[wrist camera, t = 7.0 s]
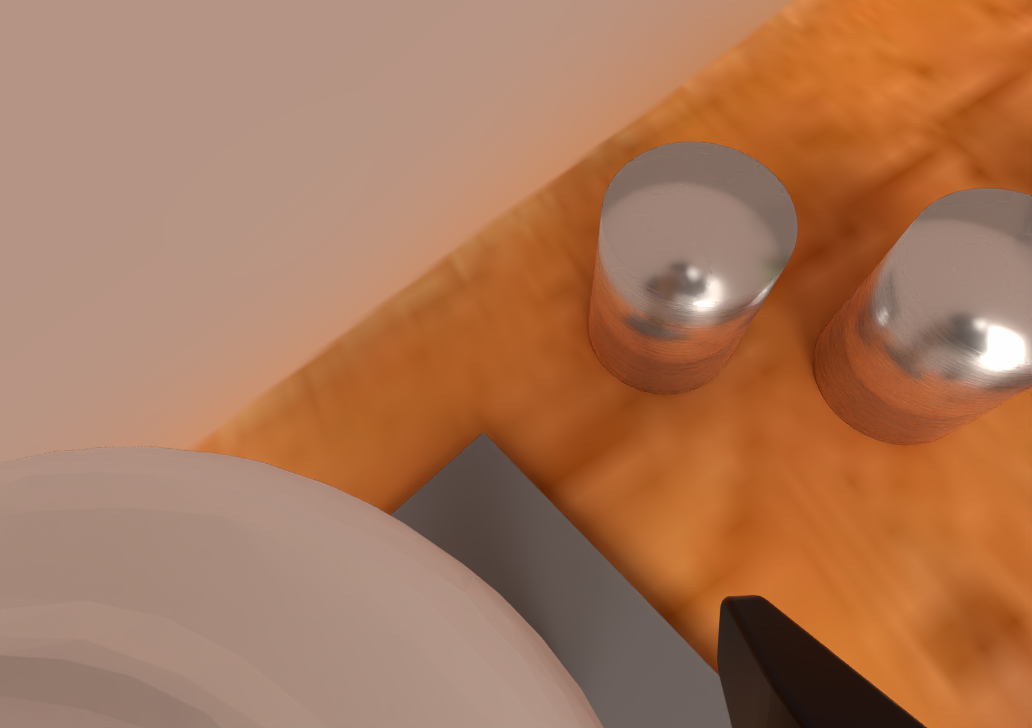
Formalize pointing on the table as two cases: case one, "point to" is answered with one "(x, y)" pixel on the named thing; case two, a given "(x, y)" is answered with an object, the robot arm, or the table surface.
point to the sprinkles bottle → (246, 606)
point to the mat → (566, 593)
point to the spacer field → (857, 325)
